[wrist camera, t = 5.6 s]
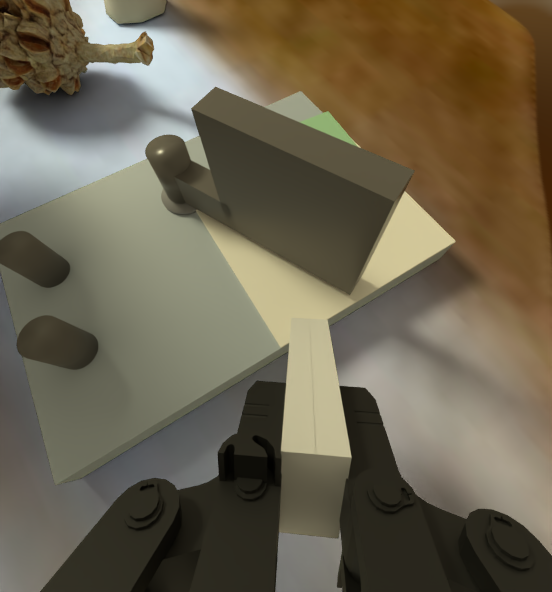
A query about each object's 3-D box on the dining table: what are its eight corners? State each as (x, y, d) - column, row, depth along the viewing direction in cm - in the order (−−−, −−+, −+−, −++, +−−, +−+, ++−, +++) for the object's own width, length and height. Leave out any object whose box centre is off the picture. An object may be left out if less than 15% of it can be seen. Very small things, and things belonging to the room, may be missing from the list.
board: (80, 478, 17) (1, 499, 12) (13, 244, 23) (-56, 199, 18) (441, 257, 21) (484, 211, 17) (301, 112, 27) (304, 49, 23)
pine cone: (-40, 108, 30) (-187, -32, 20) (14, 50, 33) (-90, -91, 24) (167, 138, 27) (105, -9, 18) (202, 72, 30) (165, -79, 21)
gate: (159, 194, 21) (89, 69, 14) (182, 171, 22) (127, 42, 14) (346, 300, 17) (389, 209, 10) (365, 269, 18) (419, 163, 11)
